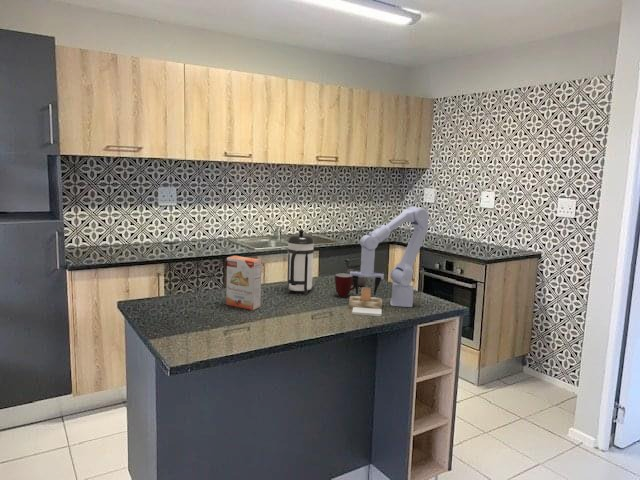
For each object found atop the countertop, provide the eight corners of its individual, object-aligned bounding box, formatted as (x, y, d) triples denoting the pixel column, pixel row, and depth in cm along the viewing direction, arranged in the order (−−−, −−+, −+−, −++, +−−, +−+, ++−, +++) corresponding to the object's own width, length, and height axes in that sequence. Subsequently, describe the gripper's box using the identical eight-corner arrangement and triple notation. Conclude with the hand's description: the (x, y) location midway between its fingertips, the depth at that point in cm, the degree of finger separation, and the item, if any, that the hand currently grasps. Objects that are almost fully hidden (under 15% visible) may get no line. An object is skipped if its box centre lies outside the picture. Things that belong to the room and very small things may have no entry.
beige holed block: (381, 304, 211) (381, 298, 210) (381, 310, 202) (381, 303, 201) (350, 302, 212) (350, 295, 212) (348, 308, 203) (348, 301, 203)
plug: (370, 305, 209) (370, 287, 208) (369, 308, 205) (370, 290, 204) (360, 304, 209) (361, 287, 208) (360, 307, 205) (361, 289, 204)
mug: (349, 292, 229) (350, 272, 228) (359, 296, 222) (360, 275, 221) (331, 294, 224) (331, 274, 222) (340, 299, 217) (341, 277, 215)
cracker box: (225, 305, 201) (225, 257, 198) (234, 302, 206) (235, 254, 203) (252, 311, 195) (253, 261, 191) (261, 307, 200) (262, 258, 197)
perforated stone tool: (368, 287, 241) (369, 274, 240) (359, 288, 238) (360, 274, 237) (353, 280, 254) (353, 268, 253) (344, 281, 251) (345, 268, 250)
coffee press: (277, 288, 231) (278, 227, 226) (307, 286, 238) (309, 227, 233) (290, 298, 216) (292, 232, 211) (322, 295, 222) (324, 232, 218)
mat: (381, 311, 200) (381, 309, 200) (381, 316, 193) (381, 314, 193) (353, 309, 202) (353, 307, 202) (352, 314, 195) (352, 312, 195)
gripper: (350, 263, 201) (348, 294, 203) (384, 266, 199) (382, 297, 201) (351, 260, 208) (349, 290, 210) (384, 262, 206) (382, 293, 208)
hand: (365, 293), depth 206 cm, fingers open, 7 cm apart
